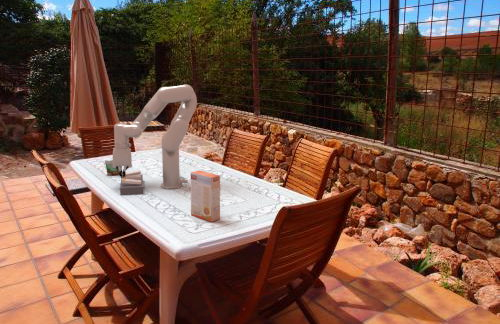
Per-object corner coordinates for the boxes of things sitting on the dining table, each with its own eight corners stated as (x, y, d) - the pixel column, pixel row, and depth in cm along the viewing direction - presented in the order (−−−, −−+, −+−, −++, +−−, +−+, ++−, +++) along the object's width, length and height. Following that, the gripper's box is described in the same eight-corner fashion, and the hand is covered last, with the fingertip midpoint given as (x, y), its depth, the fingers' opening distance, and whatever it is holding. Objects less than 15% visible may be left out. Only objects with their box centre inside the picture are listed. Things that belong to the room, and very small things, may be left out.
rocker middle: (140, 176, 230) (140, 174, 230) (141, 178, 226) (140, 176, 226) (122, 178, 227) (122, 175, 227) (122, 180, 224) (122, 177, 223)
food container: (111, 177, 249) (110, 161, 246) (105, 175, 252) (104, 160, 250) (127, 173, 258) (126, 158, 256) (121, 172, 262) (121, 157, 260)
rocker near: (140, 182, 222) (141, 179, 221) (140, 184, 218) (141, 181, 218) (122, 181, 219) (122, 178, 218) (121, 182, 215) (122, 180, 215)
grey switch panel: (142, 179, 246) (142, 172, 245) (143, 193, 216) (143, 186, 215) (122, 180, 243) (122, 173, 242) (120, 195, 213) (120, 188, 212)
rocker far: (140, 172, 238) (140, 169, 238) (140, 174, 234) (140, 171, 234) (123, 175, 236) (123, 173, 236) (123, 177, 232) (122, 174, 232)
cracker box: (220, 219, 181) (220, 175, 176) (211, 222, 176) (210, 177, 172) (200, 212, 190) (199, 169, 185) (190, 215, 185) (189, 171, 181)
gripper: (135, 144, 227) (136, 175, 231) (107, 144, 223) (109, 176, 227) (135, 146, 220) (136, 179, 224) (106, 147, 216) (108, 179, 220)
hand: (122, 177), depth 225 cm, fingers closed
